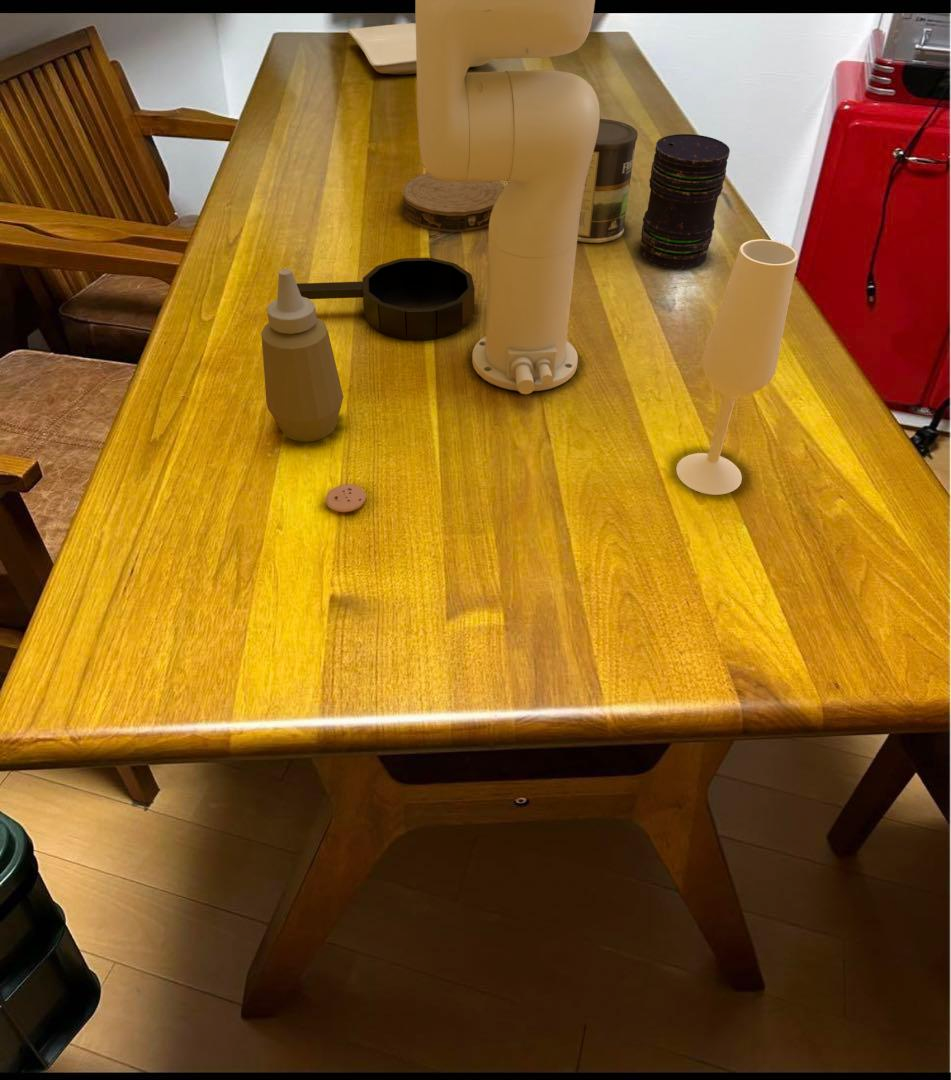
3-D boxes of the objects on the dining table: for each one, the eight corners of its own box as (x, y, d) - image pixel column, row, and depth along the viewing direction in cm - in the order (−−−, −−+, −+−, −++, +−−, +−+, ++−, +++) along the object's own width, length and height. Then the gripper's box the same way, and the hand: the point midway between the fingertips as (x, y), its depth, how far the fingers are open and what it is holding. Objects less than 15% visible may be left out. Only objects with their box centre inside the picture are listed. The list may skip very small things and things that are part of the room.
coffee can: (626, 217, 131) (640, 121, 121) (621, 246, 124) (635, 147, 114) (560, 210, 132) (568, 115, 122) (551, 239, 125) (559, 140, 115)
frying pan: (478, 338, 105) (478, 309, 102) (282, 345, 103) (278, 316, 100) (468, 283, 115) (468, 255, 112) (289, 289, 113) (285, 261, 110)
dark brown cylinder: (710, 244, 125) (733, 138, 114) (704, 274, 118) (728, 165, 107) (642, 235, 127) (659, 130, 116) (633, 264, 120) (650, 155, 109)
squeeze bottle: (311, 396, 96) (288, 244, 83) (362, 424, 92) (346, 269, 80) (255, 429, 91) (223, 273, 79) (306, 460, 88) (281, 302, 75)
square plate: (347, 46, 195) (346, 26, 192) (461, 38, 201) (461, 19, 198) (373, 81, 176) (372, 61, 174) (497, 72, 182) (498, 52, 180)
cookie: (375, 499, 83) (374, 492, 83) (344, 520, 81) (343, 512, 80) (348, 482, 85) (347, 474, 84) (317, 502, 83) (316, 494, 82)
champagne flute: (662, 472, 87) (711, 251, 70) (700, 444, 91) (755, 227, 74) (717, 504, 84) (783, 279, 67) (754, 474, 87) (825, 253, 70)
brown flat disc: (508, 191, 137) (509, 173, 135) (500, 234, 126) (501, 215, 124) (411, 186, 138) (410, 167, 136) (395, 228, 127) (394, 208, 125)
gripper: (401, -159, 103) (406, 2, 115) (539, -152, 101) (530, 13, 113) (418, -166, 109) (422, -11, 121) (551, -159, 106) (541, -1, 118)
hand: (474, 0), depth 117 cm, fingers open, 9 cm apart
